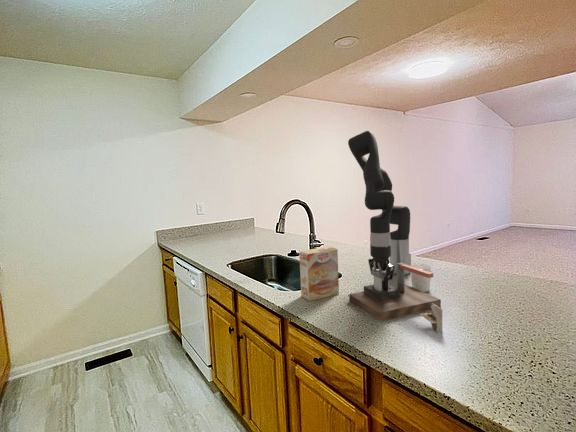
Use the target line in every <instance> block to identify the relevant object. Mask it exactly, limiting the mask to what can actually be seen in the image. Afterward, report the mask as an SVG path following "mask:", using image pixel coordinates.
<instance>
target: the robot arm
mask: <svg viewBox="0 0 576 432" xmlns="http://www.w3.org/2000/svg"><path fill="white" fill-rule="evenodd" d="M347 145H348V148H349V151H350V152H351V155H353V157H354V158H355V160H356V162H357V164H358V165H359V167H360V169H361V170H362V174H363V180H364V184H365V196H364V205H365V207H366V208H367V210H369V211H378V210H379V211H380V210H381V211H382V212H381V213H380V214H378V215H374V216H372V217H370V220H369V221H370V222H369V224H370V226H369V227H370V232H369V233H370V235H369V236H370V237H369V245H370V246H369V247H370V253H369V254H370V256H371V257H372V258H369V259H368V266H369V270H370V272H371V271H372V270H374V271H378V270H379V272H380V273H381V274H382V275H383V278H382V290H388V280H389V281H391V280H393V278H394V275H395V276H397V263H404V264H406V265H409V266H411V265H412V257H411V256H412V254H411V253H410V232H411V211H410V208H409V207H408V206H405V205H394V204H395V196H394V193H393V192H392V190H393V183H392V180H391V178H390V177H389V174H388V173H387V171H386V170H384V169H383V168H381V165H380V155H379V148H378V147H379V146H378V141H377V138H376V137H375V135H374V133H373V132H372V131H370V130H365V131H362V132H361V133H359V134H357V135H354V136H352V137H350V138H349V139H348V141H347ZM366 155H368V158H366V157H365V156H366ZM391 225H396V226H397V229H396V230H392V231H391V229H390V228H391V227H390V226H391ZM383 271H386V272H383ZM384 274H386V275H385V277H384ZM409 274H411V272H410V271H407V270H404V276H405V275H409ZM389 275H390V276H389Z"/></svg>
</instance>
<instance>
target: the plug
mask: <svg viewBox="0 0 576 432" xmlns="http://www.w3.org/2000/svg"><path fill="white" fill-rule="evenodd" d="M383 272H386V271H383ZM370 275H371V276H373V285H374V289H376V290H378V291H384V290H382V278H383V275H382V274H381V273H380V272H379V270H378V271H374V270H372V271H370ZM385 275H386V274H384V277H385ZM389 276H390V275H389ZM389 285H390V280H388V290H389Z"/></svg>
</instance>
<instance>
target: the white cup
mask: <svg viewBox="0 0 576 432" xmlns="http://www.w3.org/2000/svg"><path fill="white" fill-rule="evenodd" d="M411 266H412V267H415V268H418V269H422V270H425V271H428V272H431V271H432V266H431V265H429V264H425V263H424V264H422V263H414V264H413V263H412V264H411ZM431 273H432V272H431ZM410 278H411V285H412V286H411V287H412V288H415V289H417V290H420V291H422V292H424V293H427V292H429V291H430V290H431V289H430V288H431V278H427V277H424V276H421V275H418V274H415V273H413V272H410Z"/></svg>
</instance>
